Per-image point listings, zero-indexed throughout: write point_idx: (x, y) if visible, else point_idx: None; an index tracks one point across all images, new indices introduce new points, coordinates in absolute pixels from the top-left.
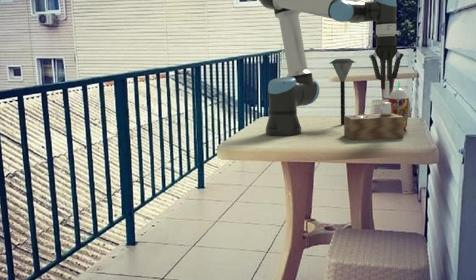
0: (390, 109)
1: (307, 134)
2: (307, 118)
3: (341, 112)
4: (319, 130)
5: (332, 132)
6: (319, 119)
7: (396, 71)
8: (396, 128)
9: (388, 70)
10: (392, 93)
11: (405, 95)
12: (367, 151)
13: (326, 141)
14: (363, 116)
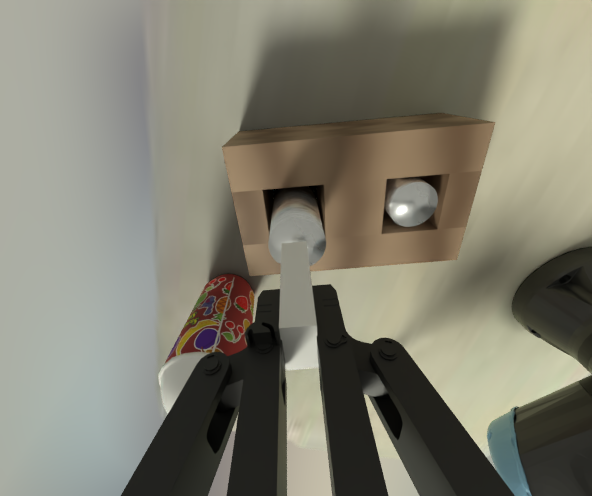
0: (276, 213)
1: (515, 261)
2: None
3: (367, 410)
4: (448, 316)
5: (430, 280)
6: (380, 436)
7: (177, 433)
8: (263, 135)
9: (280, 457)
10: None
11: (172, 372)
12: None
13: (543, 102)
14: (396, 214)
